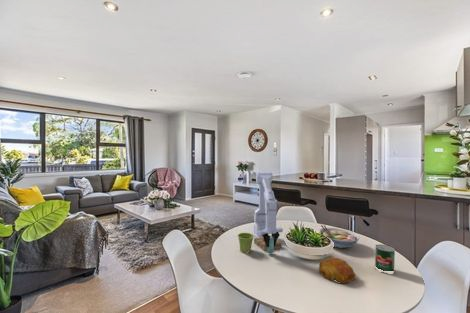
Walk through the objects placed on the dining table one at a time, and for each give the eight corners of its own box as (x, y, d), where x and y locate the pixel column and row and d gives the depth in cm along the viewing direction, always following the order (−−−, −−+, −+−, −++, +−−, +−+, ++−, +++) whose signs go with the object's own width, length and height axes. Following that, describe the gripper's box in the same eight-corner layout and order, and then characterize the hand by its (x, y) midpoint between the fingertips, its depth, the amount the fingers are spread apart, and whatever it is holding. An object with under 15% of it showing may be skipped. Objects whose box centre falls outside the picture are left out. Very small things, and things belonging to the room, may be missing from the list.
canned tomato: (390, 267, 113) (391, 245, 113) (397, 275, 106) (397, 252, 106) (372, 264, 115) (373, 243, 115) (377, 272, 108) (378, 249, 108)
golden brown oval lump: (313, 275, 109) (312, 258, 109) (338, 265, 114) (337, 250, 114) (336, 291, 95) (334, 273, 95) (364, 280, 101) (362, 262, 100)
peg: (265, 251, 126) (266, 237, 126) (271, 250, 128) (271, 236, 128) (269, 254, 123) (269, 239, 123) (274, 252, 125) (275, 238, 124)
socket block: (254, 243, 141) (254, 238, 141) (270, 240, 145) (270, 235, 145) (264, 250, 130) (264, 245, 130) (281, 247, 134) (281, 242, 134)
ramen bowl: (366, 256, 125) (367, 241, 125) (323, 252, 129) (323, 238, 129) (351, 239, 150) (352, 227, 149) (315, 236, 154) (315, 224, 153)
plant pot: (253, 247, 134) (254, 233, 134) (253, 254, 124) (253, 239, 124) (238, 246, 135) (238, 232, 135) (236, 253, 125) (236, 238, 125)
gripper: (263, 225, 119) (262, 251, 119) (286, 222, 124) (285, 247, 125) (256, 221, 125) (256, 246, 125) (278, 218, 131) (278, 242, 131)
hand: (270, 246), depth 125 cm, fingers closed on peg, 4 cm apart
